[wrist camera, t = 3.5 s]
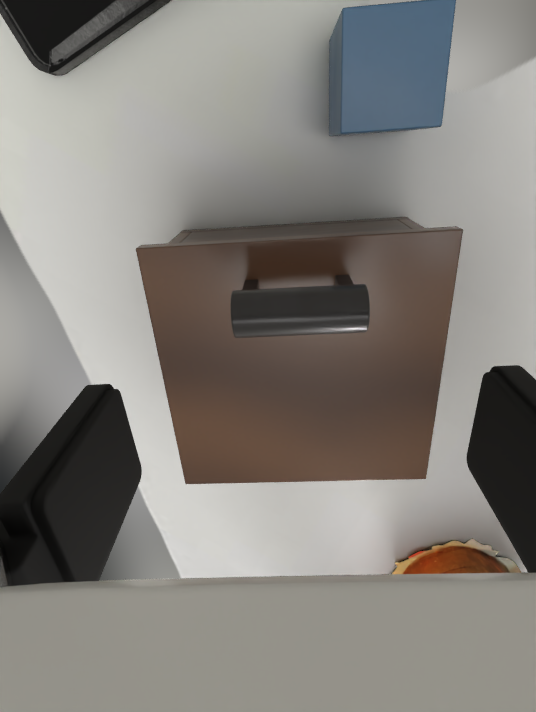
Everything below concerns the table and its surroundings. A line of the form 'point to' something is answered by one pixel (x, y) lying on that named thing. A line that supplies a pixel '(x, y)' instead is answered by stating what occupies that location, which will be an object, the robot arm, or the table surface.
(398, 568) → the vessel
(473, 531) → the table surface
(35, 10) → the phone
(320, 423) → the lid
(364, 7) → the block
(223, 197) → the table surface
